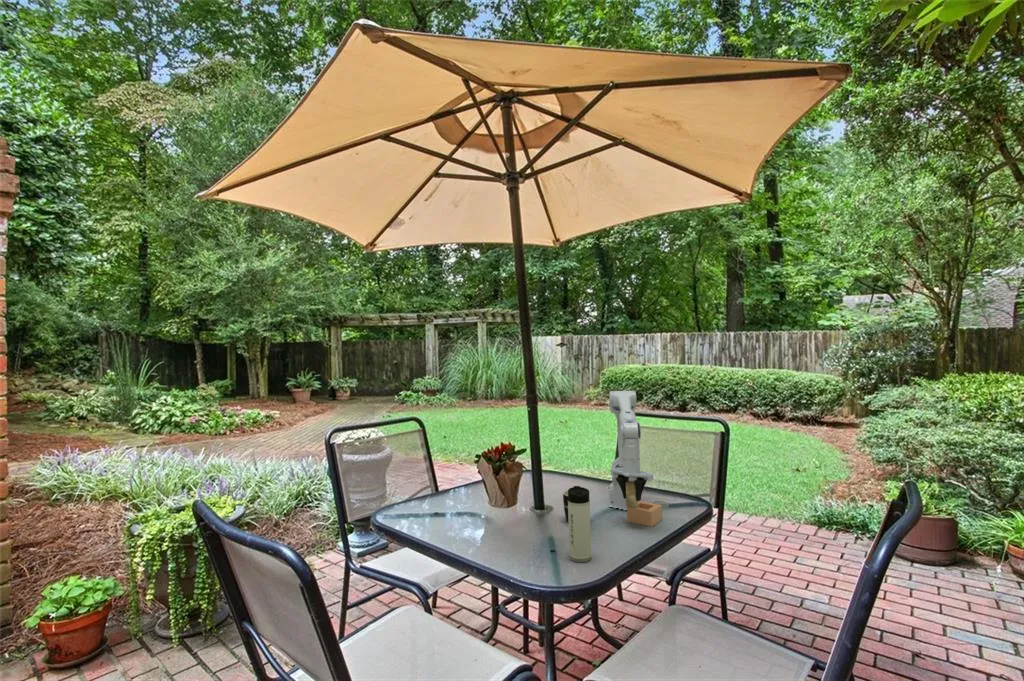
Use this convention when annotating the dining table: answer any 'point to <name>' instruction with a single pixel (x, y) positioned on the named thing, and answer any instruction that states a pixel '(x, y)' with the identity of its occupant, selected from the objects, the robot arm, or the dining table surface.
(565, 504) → the mug
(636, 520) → the socket block
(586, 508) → the travel mug
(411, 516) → the dining table surface
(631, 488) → the peg
